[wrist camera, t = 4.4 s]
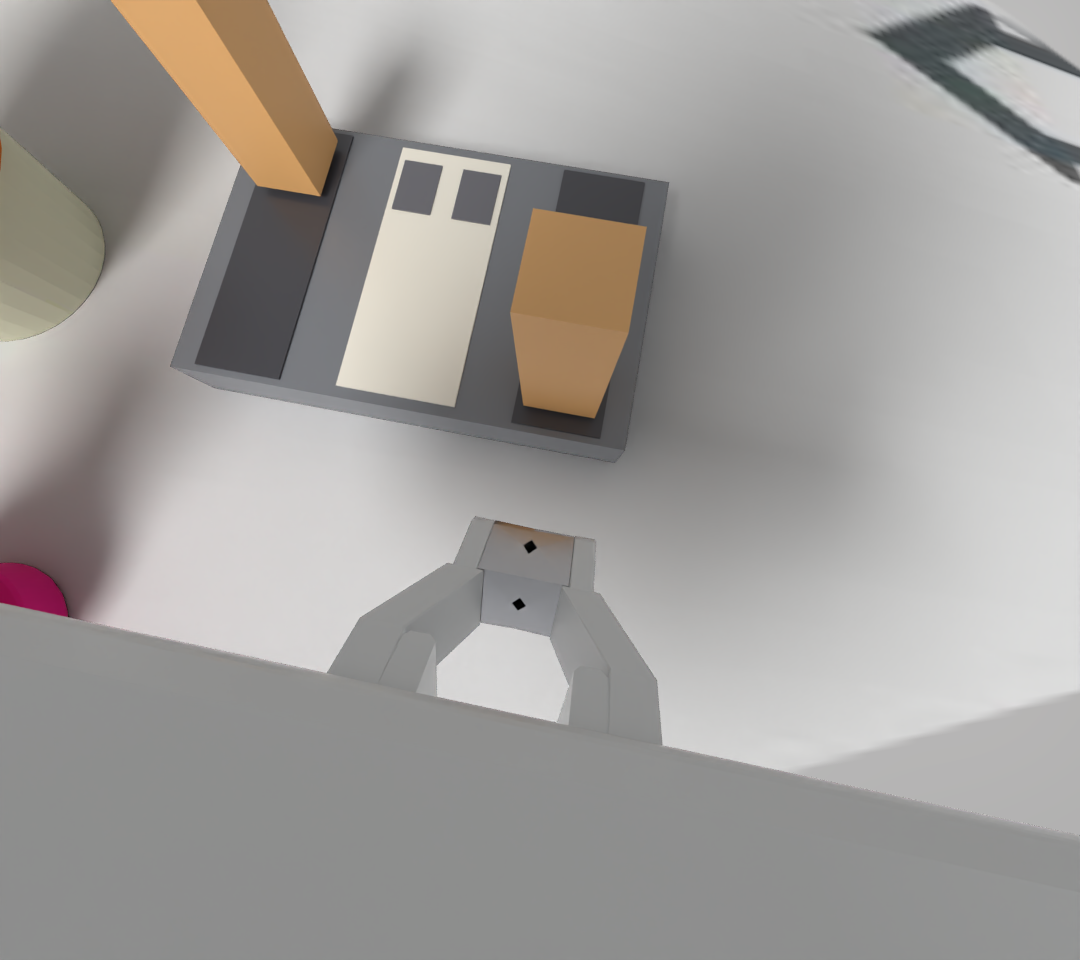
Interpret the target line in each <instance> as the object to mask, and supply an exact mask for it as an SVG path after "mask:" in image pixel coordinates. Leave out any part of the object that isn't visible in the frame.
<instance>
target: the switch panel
mask: <svg viewBox="0 0 1080 960" xmlns="http://www.w3.org/2000/svg"><path fill="white" fill-rule="evenodd" d="M332 130H333V132H334V134H335V136H336V138H337V140H338V142H337V145H336V148H335V152H334V155H333V158H332V161H331V164H330V168H329V171H328V174H327V177H326V180H325V184H324V187H323V190H322V193H321V196H315V195H309V194H303V193H297V192H291V191H285V190H279V189H273V188H267V187H261V186H257V185H256V183H255V182H254V181H253V180H252V178H251V177H250V176H249V175H248V173H247V172H246V171H245V170H244V168H243V167H242V166H241V165H240V168H239V171H238V174H237V177H236V180H235V182H234V185H233V188H232V191H231V194H230V197H229V200H228V202H227V205H226V208H225V211H224V214H223V217H222V219H221V222H220V225H219V228H218V231H217V234H216V237H215V239H214V242H213V245H212V248H211V251H210V254H209V257H208V259H207V262H206V265H205V268H204V271H203V274H202V277H201V279H200V282H199V285H198V288H197V291H196V294H195V297H194V299H193V302H192V305H191V308H190V311H189V314H188V316H187V319H186V322H185V325H184V328H183V331H182V334H181V336H180V339H179V342H178V345H177V348H176V351H175V354H174V356H173V359H172V362H171V365H170V367H172V368H174V369H176V370H178V371H180V372H183V373H185V374H187V375H189V376H191V377H193V378H195V379H197V380H199V381H201V382H203V383H205V384H207V385H209V386H211V387H213V388H217V389H223V390H228V391H233V392H239V393H244V394H249V395H255V396H260V397H266V398H271V399H276V400H282V401H287V402H292V403H298V404H303V405H309V406H314V407H319V408H325V409H330V410H335V411H341V412H346V413H351V414H357V415H362V416H368V417H373V418H378V419H384V420H389V421H394V422H400V423H405V424H410V425H416V426H421V427H427V428H432V429H437V430H443V431H448V432H453V433H459V434H464V435H470V436H475V437H480V438H486V439H491V440H496V441H502V442H507V443H512V444H518V445H523V446H529V447H534V448H539V449H545V450H550V451H555V452H561V453H566V454H572V455H577V456H582V457H588V458H593V459H598V460H604V461H609V462H614V463H615V462H616V461H617V459H618V458H619V457H620V456H621V455H622V453H623V452H624V451H625V447H626V441H627V435H628V429H629V422H630V416H631V410H632V404H633V398H634V392H635V386H636V380H637V374H638V368H639V362H640V356H641V350H642V344H643V338H644V332H645V325H646V319H647V313H648V307H649V301H650V295H651V289H652V283H653V277H654V271H655V265H656V259H657V253H658V247H659V241H660V235H661V229H662V222H663V216H664V210H665V204H666V198H667V192H668V186H669V182H663V181H657V180H651V179H645V178H638V177H632V176H626V175H620V174H613V173H607V172H601V171H595V170H588V169H582V168H576V167H570V166H563V165H557V164H551V163H545V162H538V161H532V160H526V159H520V158H513V157H507V156H501V155H495V154H488V153H482V152H476V151H470V150H463V149H457V148H451V147H445V146H438V145H432V144H426V143H420V142H413V141H407V140H401V139H395V138H388V137H382V136H376V135H370V134H363V133H357V132H351V131H345V130H338V129H332ZM533 208H535V209H542V210H548V211H554V212H560V213H566V214H572V215H578V216H584V217H590V218H596V219H602V220H608V221H614V222H621V223H627V224H633V225H639V226H645V227H647V229H646V234H645V240H644V246H643V252H642V258H641V264H640V269H639V275H638V281H637V287H636V293H635V299H634V305H633V310H632V316H631V322H630V328H629V333H628V336H627V338H626V341H625V343H624V346H623V348H622V351H621V353H620V356H619V358H618V361H617V363H616V366H615V368H614V371H613V373H612V376H611V379H610V381H609V384H608V386H607V389H606V391H605V394H604V396H603V399H602V401H601V404H600V406H599V409H598V411H597V414H596V416H595V418H589V417H584V416H578V415H573V414H567V413H562V412H556V411H551V410H545V409H540V408H534V407H529V406H523V400H522V393H521V386H520V378H519V371H518V364H517V357H516V350H515V343H514V336H513V329H512V322H511V315H510V311H511V306H512V302H513V297H514V293H515V288H516V283H517V279H518V274H519V270H520V265H521V261H522V256H523V252H524V247H525V243H526V238H527V234H528V229H529V225H530V220H531V215H532V211H533Z"/></svg>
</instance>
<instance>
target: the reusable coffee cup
mask: <svg viewBox="0 0 1080 960" xmlns="http://www.w3.org/2000/svg"><path fill="white" fill-rule="evenodd" d="M104 256H105V242H104V237H103V232H102V228H101V226H100V224H99V222H98V220H97V218H96V216H95V215H94V214H93V212H92V211H91V210H90V209H89V208H88V206H87V205H86V204H85V203H83V202H82V201H81V200H80V199H79V198H78V197H77V196H76V195H75V194H73V193H72V192H71V191H70V190H69V189H68V188H67V187H66V186H65V185H64V184H62V183H61V182H60V181H59V180H58V179H57V178H56V177H55V176H54V175H53V174H51V173H50V172H49V171H48V170H47V169H46V168H45V167H44V166H43V165H41V164H40V163H39V162H38V161H37V160H36V159H35V158H34V157H33V156H32V155H30V154H29V153H28V152H27V151H26V150H25V149H24V148H23V147H22V146H21V145H19V144H18V143H17V142H16V141H15V140H14V139H13V138H12V137H11V136H10V135H8V134H7V133H6V132H5V131H4V130H3V129H2V128H1V127H0V341H13V340H20V339H25V338H28V337H32V336H35V335H38V334H41V333H43V332H45V331H47V330H49V329H51V328H53V327H55V326H57V325H58V324H60V323H61V322H62V321H64V320H65V319H66V318H68V317H69V316H70V315H72V314H73V313H74V312H75V311H76V310H77V309H78V308H79V307H80V306H81V305H82V304H83V303H84V302H85V300H86V299H87V297H88V296H89V294H90V293H91V291H92V290H93V289H94V287H95V285H96V282H97V280H98V278H99V276H100V274H101V270H102V266H103V262H104Z"/></svg>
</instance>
